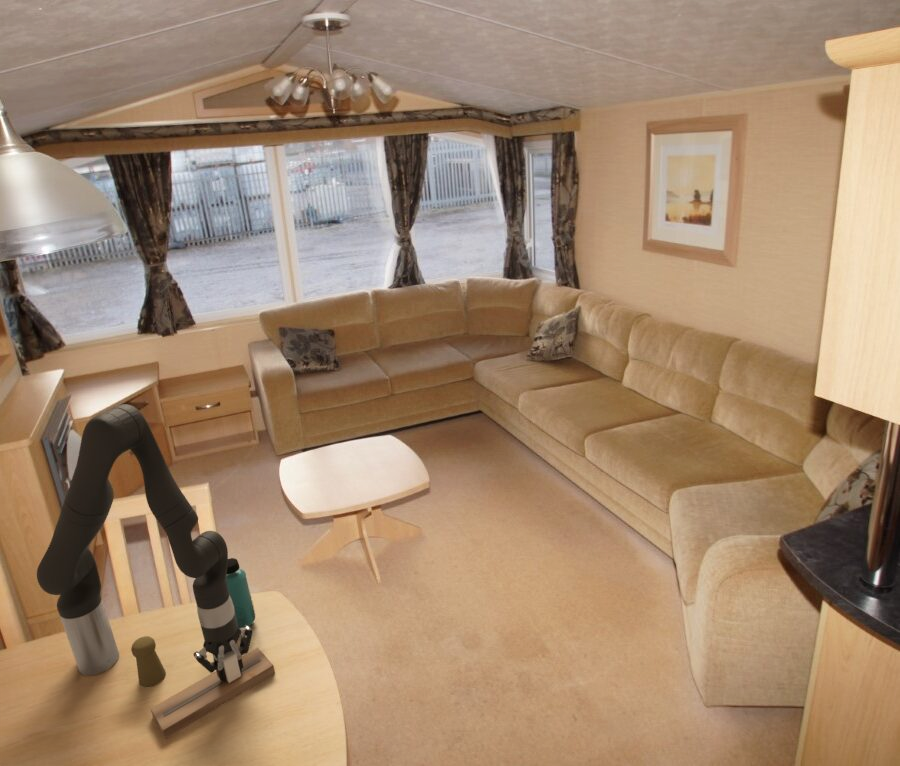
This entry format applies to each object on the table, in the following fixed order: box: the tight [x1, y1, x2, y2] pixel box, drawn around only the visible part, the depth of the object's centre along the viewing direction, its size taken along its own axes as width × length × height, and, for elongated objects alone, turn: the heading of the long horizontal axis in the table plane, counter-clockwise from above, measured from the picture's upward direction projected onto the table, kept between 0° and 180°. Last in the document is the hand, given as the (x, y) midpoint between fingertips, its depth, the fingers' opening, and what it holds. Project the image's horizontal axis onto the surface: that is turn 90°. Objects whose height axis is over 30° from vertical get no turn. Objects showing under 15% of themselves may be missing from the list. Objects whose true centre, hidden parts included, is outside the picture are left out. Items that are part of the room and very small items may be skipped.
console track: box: [150, 647, 276, 740], centre depth 157 cm, size 8×26×3 cm, turn 131°
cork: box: [130, 635, 167, 688], centre depth 162 cm, size 6×6×11 cm
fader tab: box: [222, 651, 241, 683], centre depth 158 cm, size 4×3×7 cm
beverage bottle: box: [226, 557, 257, 628], centre depth 175 cm, size 6×7×20 cm
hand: (231, 674), depth 159 cm, fingers closed on fader tab, 3 cm apart
